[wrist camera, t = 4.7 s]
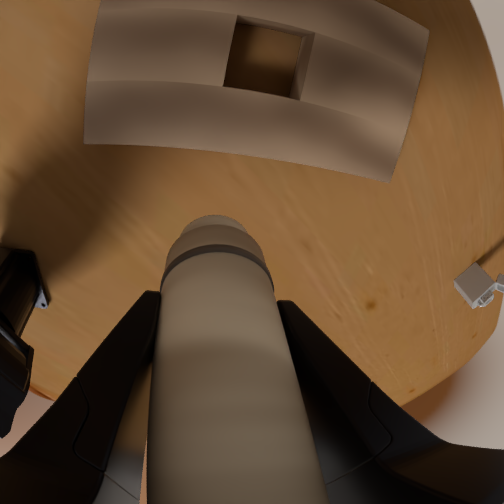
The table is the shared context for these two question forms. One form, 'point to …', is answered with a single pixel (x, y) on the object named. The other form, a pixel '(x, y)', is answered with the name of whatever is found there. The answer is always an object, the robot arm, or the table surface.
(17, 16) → the table surface
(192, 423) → the dowel
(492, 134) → the table surface
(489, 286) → the lighter
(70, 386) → the robot arm
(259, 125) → the board
